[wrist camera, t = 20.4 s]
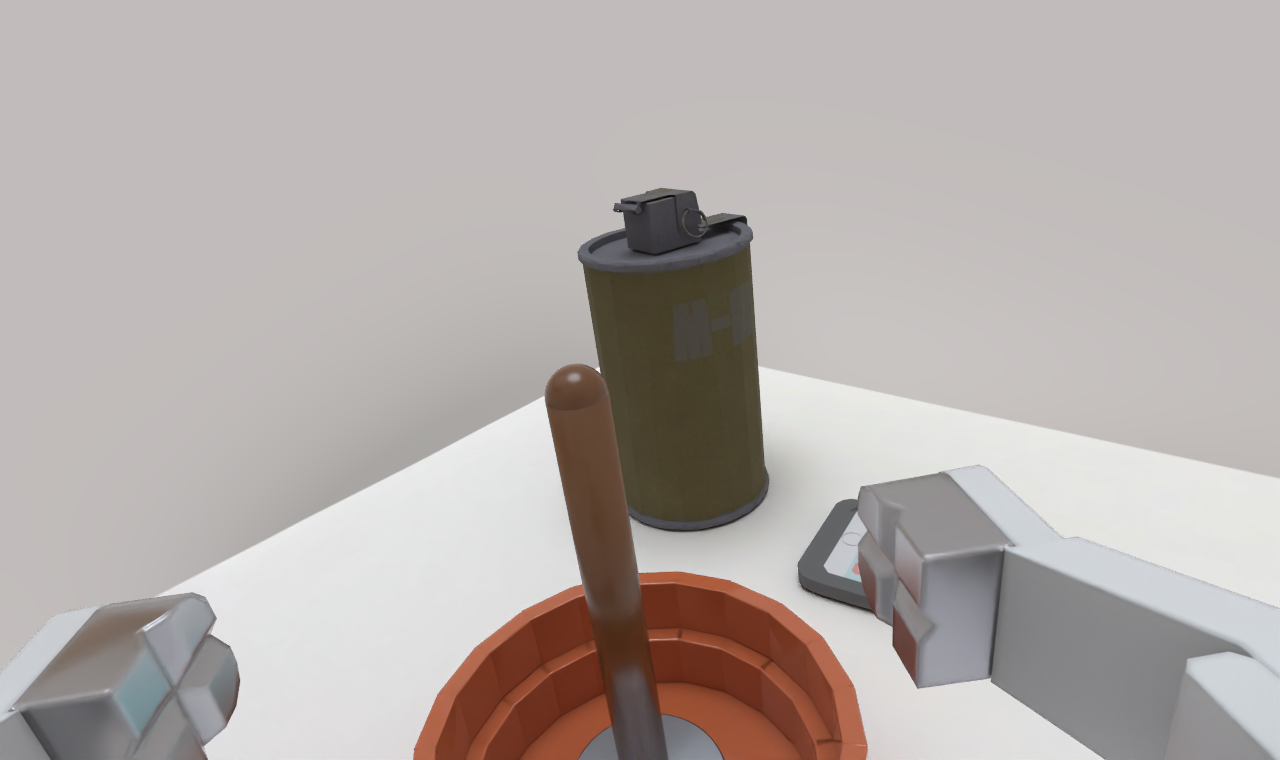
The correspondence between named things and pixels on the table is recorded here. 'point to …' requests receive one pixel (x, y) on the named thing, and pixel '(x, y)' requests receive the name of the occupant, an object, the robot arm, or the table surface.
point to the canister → (679, 359)
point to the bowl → (684, 671)
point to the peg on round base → (612, 576)
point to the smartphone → (836, 557)
